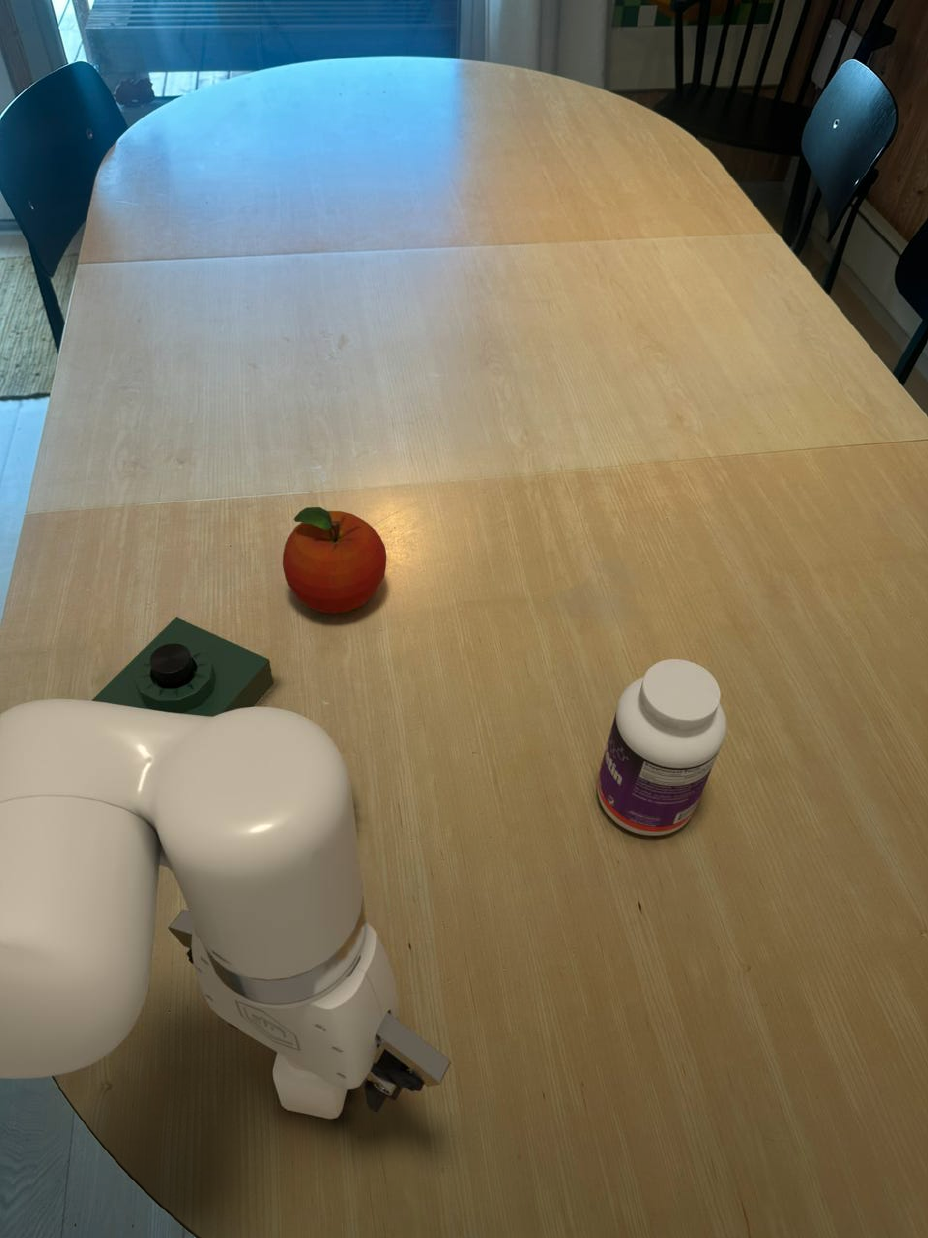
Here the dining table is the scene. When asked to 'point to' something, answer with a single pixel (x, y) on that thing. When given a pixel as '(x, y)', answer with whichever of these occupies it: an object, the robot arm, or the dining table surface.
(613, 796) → the pill bottle
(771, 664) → the dining table surface
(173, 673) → the black push button
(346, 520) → the fruit
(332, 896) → the robot arm
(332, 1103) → the salt shaker
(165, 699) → the green square nut
